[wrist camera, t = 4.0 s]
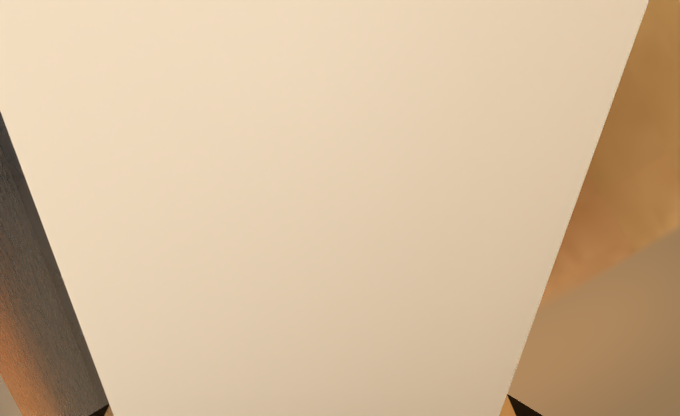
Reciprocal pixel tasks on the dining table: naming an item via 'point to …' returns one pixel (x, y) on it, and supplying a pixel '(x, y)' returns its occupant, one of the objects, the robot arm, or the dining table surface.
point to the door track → (37, 313)
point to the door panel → (308, 189)
